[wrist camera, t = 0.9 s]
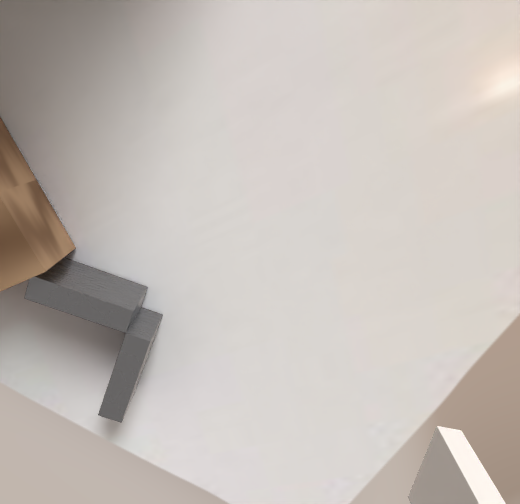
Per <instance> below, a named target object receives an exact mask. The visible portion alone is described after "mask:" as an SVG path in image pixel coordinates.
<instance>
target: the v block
mask: <svg viewBox="0 0 520 504" xmlns="http://www.w3.org/2000/svg"><path fill="white" fill-rule="evenodd" d="M147 288H148V287H146V286H143V285H140V284H137V283H135V282H132V281H129V280H126V279H123V278H120V277H118V276H115V275H112V274H109V273H106V272H103V271H101V270H98V269H95V268H92V267H89V266H86V265H84V264H81V263H78V262H75V261H72V260H70V259H67V258H62V259H61V260H60V261H59V262H57V263H56V264H55V265H53V266H52V267H51V268H50V269H48V270H47V271H46V272H44V273H41V274H39V275H37V276H35V277H32V278H30V279H29V283H28V286H27V290H26V294H25V299H27V300H30V301H33V302H36V303H39V304H42V305H45V306H48V307H51V308H54V309H57V310H60V311H63V312H66V313H69V314H71V315H74V316H77V317H80V318H83V319H86V320H89V321H92V322H95V323H98V324H101V325H104V326H107V327H110V328H113V329H116V330H118V331H121V332H124V333H126V334H125V337H124V340H123V343H122V346H121V349H120V352H119V355H118V358H117V361H116V364H115V367H114V369H113V372H112V375H111V378H110V381H109V384H108V387H107V390H106V393H105V396H104V399H103V402H102V405H101V408H100V411H99V414H98V415H99V416H102V417H105V418H108V419H112V420H115V421H118V422H121V423H122V420H123V418H124V416H125V413H126V411H127V409H128V406H129V404H130V402H131V400H132V397H133V395H134V393H135V390H136V388H137V385H138V382H139V380H140V377H141V374H142V371H143V368H144V366H145V363H146V360H147V357H148V355H149V352H150V349H151V346H152V343H153V341H154V338H155V335H156V332H157V329H158V327H159V324H160V321H161V318H162V316H163V315H162V314H159V313H157V312H154V311H151V310H148V309H145V308H142V307H141V306H142V303H143V300H144V297H145V294H146V291H147ZM135 316H136V317H135ZM128 328H129V329H128Z"/></svg>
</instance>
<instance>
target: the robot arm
mask: <svg viewBox="0 0 520 504" xmlns="http://www.w3.org/2000/svg"><path fill="white" fill-rule="evenodd" d="M408 498H409V501H410V503H411V504H505V502H504V500H503V499H502V497H501V495H500V494H499V492H498V490H497V489H496V487H495V485H494V484H493V482H492V480H491V479H490V477H489V476H488V474H487V472H486V471H485V469H484V467H483V466H482V464H481V462H480V461H479V459H478V457H477V456H476V454H475V452H474V451H473V449H472V448H471V446H470V444H469V443H468V441H467V439H466V438H465V436H464V434H463V433H462V431H461V430H456V429H450V428H445V427H440V426H437V427H436V429H435V432H434V434H433V437H432V440H431V442H430V444H429V447H428V449H427V452H426V454H425V457H424V459H423V462H422V464H421V467H420V469H419V472H418V474H417V477H416V479H415V482H414V484H413V486H412V489H411V491H410V494H409V496H408Z"/></svg>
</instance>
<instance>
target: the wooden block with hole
mask: <svg viewBox="0 0 520 504" xmlns="http://www.w3.org/2000/svg"><path fill="white" fill-rule="evenodd" d="M74 249H75V246H74V244H73V242H72V241H71V239H70V237H69V235H68V234H67V232H66V230H65V228H64V227H63V225H62V223H61V222H60V220H59V218H58V216H57V215H56V213H55V211H54V209H53V208H52V206H51V204H50V202H49V201H48V199H47V197H46V196H45V194H44V192H43V190H42V189H41V187H40V185H39V183H38V182H37V180H36V178H35V177H34V175H33V173H32V171H31V170H30V168H29V166H28V164H27V163H26V161H25V159H24V157H23V156H22V154H21V152H20V151H19V149H18V147H17V145H16V144H15V142H14V140H13V138H12V137H11V135H10V133H9V132H8V130H7V128H6V126H5V125H4V123H3V121H2V119H1V118H0V292H1V291H3V290H5V289H7V288H10V287H12V286H14V285H16V284H19V283H21V282H23V281H26V280H28V279H30V278H32V277H35V276H37V275H39V274H41V273H44V272H46V271H47V270H48V269H50V268H51V267H52V266H53V265H55V264H56V263H57V262H59V261H60V260H61V259H62V258H64V257H65V256H66V255H68V254H69V253H70V252H71V251H73V250H74Z"/></svg>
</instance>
